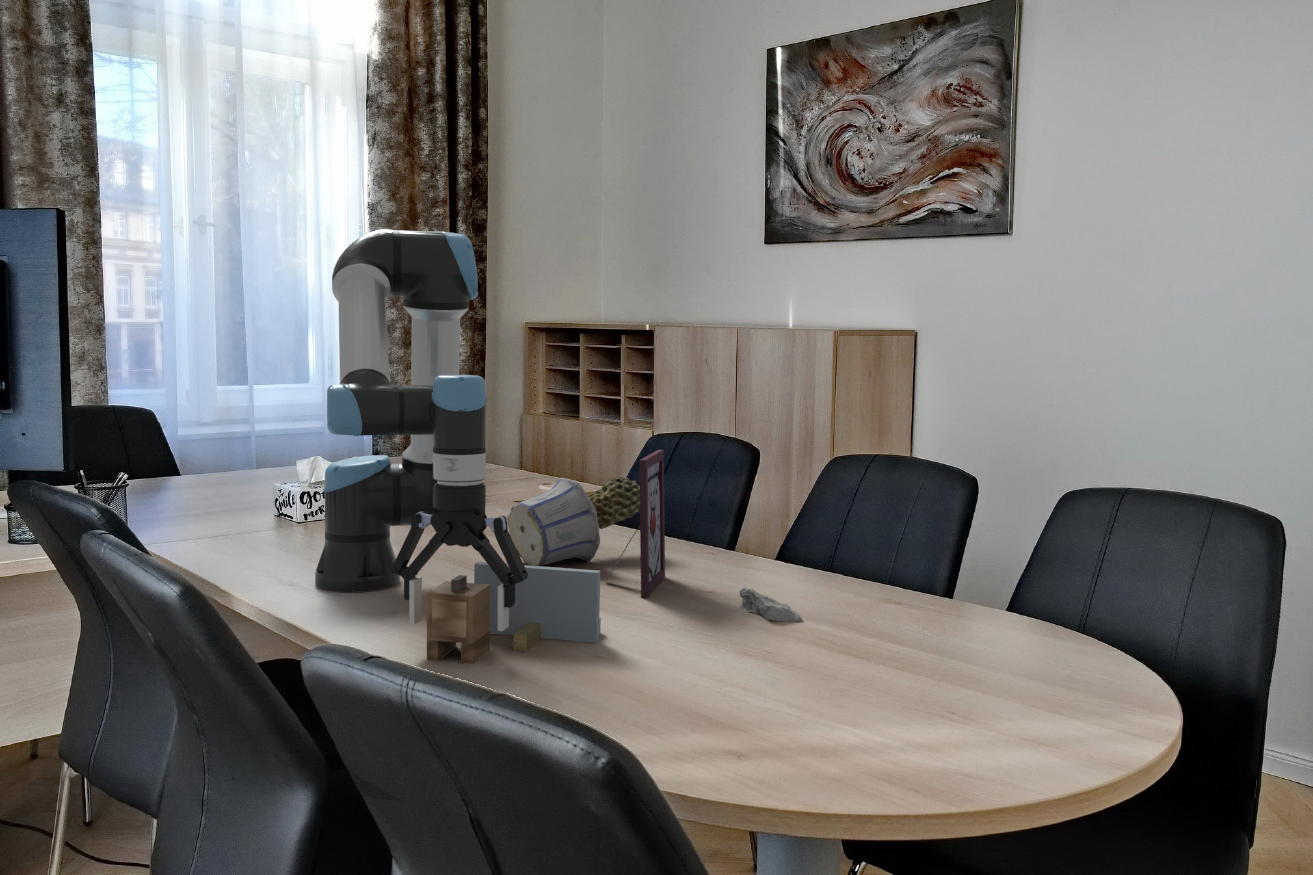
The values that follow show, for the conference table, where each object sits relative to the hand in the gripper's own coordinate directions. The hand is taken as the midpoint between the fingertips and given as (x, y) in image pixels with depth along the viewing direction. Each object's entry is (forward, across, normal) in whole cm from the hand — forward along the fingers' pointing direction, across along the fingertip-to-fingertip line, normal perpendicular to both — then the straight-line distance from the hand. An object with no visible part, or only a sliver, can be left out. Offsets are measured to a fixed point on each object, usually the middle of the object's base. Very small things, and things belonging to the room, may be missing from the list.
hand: (459, 625), depth 157 cm
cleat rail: (+4, +8, +8) cm, 12 cm away
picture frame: (+4, +15, +48) cm, 51 cm away
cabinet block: (+4, 0, 0) cm, 5 cm away
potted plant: (+4, 0, +67) cm, 67 cm away
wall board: (+4, +8, +14) cm, 17 cm away
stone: (+5, +42, +35) cm, 55 cm away
